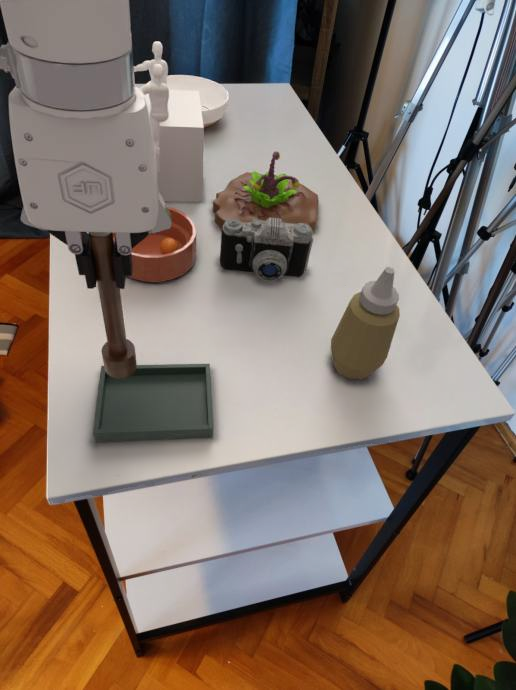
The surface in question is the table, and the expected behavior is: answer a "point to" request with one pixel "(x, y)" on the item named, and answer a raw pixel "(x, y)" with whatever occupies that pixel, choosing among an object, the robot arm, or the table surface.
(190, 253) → the copper shallow cylinder
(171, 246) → the ball
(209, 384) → the spoon tray
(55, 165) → the robot arm
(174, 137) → the white figure sculpture
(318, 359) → the table surface
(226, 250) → the camera
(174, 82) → the bowl
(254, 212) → the plant
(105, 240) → the brown wooden rod
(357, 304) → the squeeze bottle
